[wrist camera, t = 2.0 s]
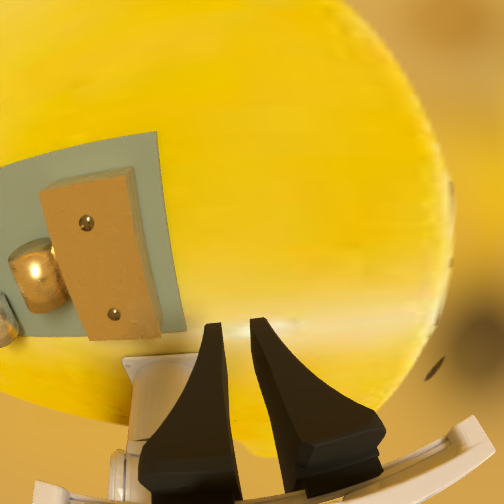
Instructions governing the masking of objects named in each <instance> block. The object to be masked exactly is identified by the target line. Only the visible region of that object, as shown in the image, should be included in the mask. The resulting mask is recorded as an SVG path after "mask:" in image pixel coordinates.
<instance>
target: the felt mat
mask: <svg viewBox="0 0 504 504" xmlns="http://www.w3.org/2000/svg"><path fill="white" fill-rule="evenodd" d="M127 167H134V170H135V177H136V184H137V191H138V197H139V204H140V210H141V216H142V221H143V227H144V232H145V238H146V243H147V248H148V253H149V258H150V262H151V267H152V272H153V276H154V280H155V285H156V289H157V293H158V297H159V301H160V305H161V309H162V313H163V323H162V332H161V333H167V332H179V331H186V329H187V328H186V323H185V318H184V314H183V309H182V304H181V299H180V294H179V289H178V284H177V278H176V273H175V267H174V261H173V256H172V250H171V244H170V237H169V231H168V224H167V217H166V210H165V203H164V195H163V187H162V179H161V170H160V161H159V151H158V141H157V131H156V132H149V133H142V134H136V135H129V136H123V137H118V138H112V139H107V140H102V141H97V142H92V143H87V144H83V145H78V146H74V147H70V148H66V149H62V150H58V151H54V152H50V153H46V154H43V155H39V156H36V157H32V158H29V159H26V160H22V161H19V162H16V163H13V164H10V165H7V166H4V167H1V168H0V291H1V292H2V293H3V294H4V296H5V298H6V300H7V302H8V305H9V307H10V309H11V311H12V313H13V315H14V317H15V318H16V320H17V322H18V324H19V332H18V334H17V336H43V337H75V336H87V334H86V331H85V329H84V327H83V325H82V323H81V320H80V318H79V316H78V313H77V311H76V309H75V306H74V304H73V301H72V299H71V297H70V296H69V298H68V299H67V301H66V302H65V303H64V304H62V305H61V306H60V307H58V308H57V309H55V310H53V311H50V312H47V313H43V314H34V313H32V312H30V311H29V310H28V308H27V306H26V304H25V301H24V299H23V297H22V295H21V293H20V290H19V288H18V286H17V283H16V281H15V278H14V276H13V274H12V271H11V268H10V266H9V263H8V258H9V256H10V254H11V253H12V252H13V251H14V250H16V249H17V248H18V247H20V246H22V245H23V244H25V243H27V242H30V241H32V240H35V239H39V238H46V237H48V238H50V235H49V232H48V228H47V225H46V221H45V217H44V213H43V209H42V205H41V201H40V197H39V191H41V190H42V189H44V188H45V187H47V186H48V185H50V184H51V183H53V182H54V181H57V180H62V179H67V178H71V177H76V176H81V175H86V174H92V173H97V172H103V171H109V170H114V169H121V168H127Z"/></svg>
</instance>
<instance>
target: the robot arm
mask: <svg viewBox="0 0 504 504" xmlns="http://www.w3.org/2000/svg"><path fill="white" fill-rule="evenodd" d="M250 335H251V353H252V359H253V364H254V369H255V373H256V376H257V379H258V383H259V386H260V389H261V392H262V395H263V398H264V401H265V404H266V407H267V410H268V414H269V417H270V421H271V426H272V431H273V435H274V440H275V445H276V450H277V454H278V459H279V464H280V469H281V474H282V479H283V484H284V490H285V494H281V495H275V496H270V497H264V498H257V499H250V500H243V498H242V492H241V487H240V481H239V476H238V470H237V465H236V458H235V452H234V447H233V440H232V434H231V427H230V418H229V396H228V373H227V366H226V358H225V351H224V343H223V335H222V327H221V322H220V323H210V324H206V325H205V326H204V334H203V339H202V343H201V347H200V350H199V353H188V354H175V355H159V356H138V357H123V358H122V364H123V366H124V369H125V371H126V373H127V375H128V377H129V379H130V381H131V383H132V385H133V392H132V400H131V409H130V419H129V430H128V441H127V447H126V453H125V454H124V450H121V449H117V452H114V453H112V455H111V461H110V471H109V488H108V499H102V498H96V497H89V496H84V495H79V494H74V493H70V492H69V491H68V490H66V489H65V488H63V487H60V486H58V485H54V484H51V483H47V482H42V481H40V480H36V481H35V487H34V494H33V502H32V504H318V503H322V502H325V501H329V500H333V499H336V498H339V497H342V496H344V497H343V500H342V501H333V502H329V503H325V504H419V503H421V502H423V501H425V500H427V499H428V498H430V497H432V496H434V495H435V494H437V493H439V492H440V491H442V490H444V489H445V488H447V487H449V486H450V485H452V484H453V483H455V482H456V481H458V480H459V479H461V478H463V477H464V476H465V475H467V474H468V473H470V472H471V471H472V470H474V469H475V468H476V467H478V466H479V465H480V464H481V463H483V462H484V461H485V460H487V458H489V457H490V456H491V455H492V454H494V453H495V448H494V447H493V445H492V444H491V442H490V440H489V439H488V437H487V435H486V434H485V432H484V430H483V429H482V427H481V426H480V424H479V422H478V421H477V419H476V418H475V416H474V415H471V416H469V417H467V418H466V419H464V420H462V421H461V422H459V423H458V424H456V425H455V426H453V427H452V428H451V429H450V431H448V433H447V434H446V435H445V436H443V437H441V438H439V439H437V440H435V441H433V442H432V443H430V444H428V445H426V446H424V447H422V448H420V449H418V450H415V451H413V452H411V453H409V454H407V455H405V456H402V457H400V458H398V459H396V460H393V461H391V462H388V463H386V464H384V465H381V463H380V461H379V459H378V456H379V451H378V449H377V446H378V445H379V443H380V442H381V441H382V439H383V438H384V436H385V434H386V429H385V427H384V425H383V423H382V421H381V420H380V418H379V417H378V415H377V414H376V412H375V411H374V410H372V409H369V408H367V407H365V406H363V405H361V404H358V403H356V402H354V401H353V400H351V399H349V398H347V397H346V396H344V395H342V394H341V393H339V392H338V391H336V390H335V389H333V388H332V387H330V386H329V385H327V384H326V383H324V382H323V381H322V380H321V379H319V378H318V377H317V376H316V375H314V374H313V373H312V372H311V371H310V370H309V369H307V368H306V367H305V366H304V365H303V364H302V363H301V362H300V361H299V360H298V359H297V358H296V357H295V356H294V355H293V354H292V352H291V351H290V350H289V349H288V348H287V347H286V346H285V344H284V343H283V342H282V341H281V340H280V338H279V337H278V336H277V334H276V333H275V332H274V330H273V329H272V327H271V326H270V324H269V323H268V321H267V319H266V318H264V317H262V318H255V319H250ZM345 495H346V496H345Z"/></svg>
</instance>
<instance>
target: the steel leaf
mask: <svg viewBox="0 0 504 504" xmlns="http://www.w3.org/2000/svg"><path fill="white" fill-rule="evenodd" d="M18 332H19V324H18V322H17V320H16V318H15V317H14V315H13V313H12V311H11V309H10V307H9V305H8V302H7V300H6V298H5V296H4V294H3V293H2V292H1V291H0V348H2V347H4V346H6V345H8V344H9V343H11V342H12V341H13V340H14V339H15V337H16V336H17V334H18Z"/></svg>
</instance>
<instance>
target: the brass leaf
mask: <svg viewBox="0 0 504 504" xmlns="http://www.w3.org/2000/svg"><path fill="white" fill-rule="evenodd" d="M39 197H40V201H41V205H42V209H43V213H44V217H45V221H46V225H47V228H48V232H49V235H50V238H48V237H46V238H39V239H35V240H32V241H30V242H27V243H25V244H23V245H22V246H20V247H18V248H17V249H16V250H14V251H13V252H12V253H11V254H10V256H9V258H8V263H9V266H10V268H11V271H12V274H13V276H14V278H15V281H16V283H17V286H18V288H19V290H20V293H21V295H22V297H23V299H24V301H25V304H26V306H27V308H28V310H29V311H30V312H32V313H34V314H43V313H47V312H50V311H53V310H55V309H57V308H58V307H60V306H61V305H62V304H64V303H65V302H66V301H67V299H68V298H69V296H70V297H71V299H72V301H73V304H74V306H75V309H76V311H77V313H78V316H79V318H80V320H81V323H82V325H83V327H84V329H85V331H86V334H87V336H88V338H89V340H90V341H96V340H126V339H146V338H161V332H162V323H163V313H162V309H161V305H160V301H159V297H158V293H157V289H156V285H155V280H154V276H153V272H152V267H151V262H150V258H149V253H148V248H147V243H146V238H145V232H144V227H143V221H142V216H141V210H140V204H139V197H138V191H137V184H136V177H135V170H134V167H127V168H121V169H114V170H109V171H103V172H97V173H92V174H86V175H81V176H76V177H71V178H67V179H62V180H57V181H54V182H53V183H51V184H50V185H48V186H47V187H45V188H44V189H42V190H41V191H39Z"/></svg>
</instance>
